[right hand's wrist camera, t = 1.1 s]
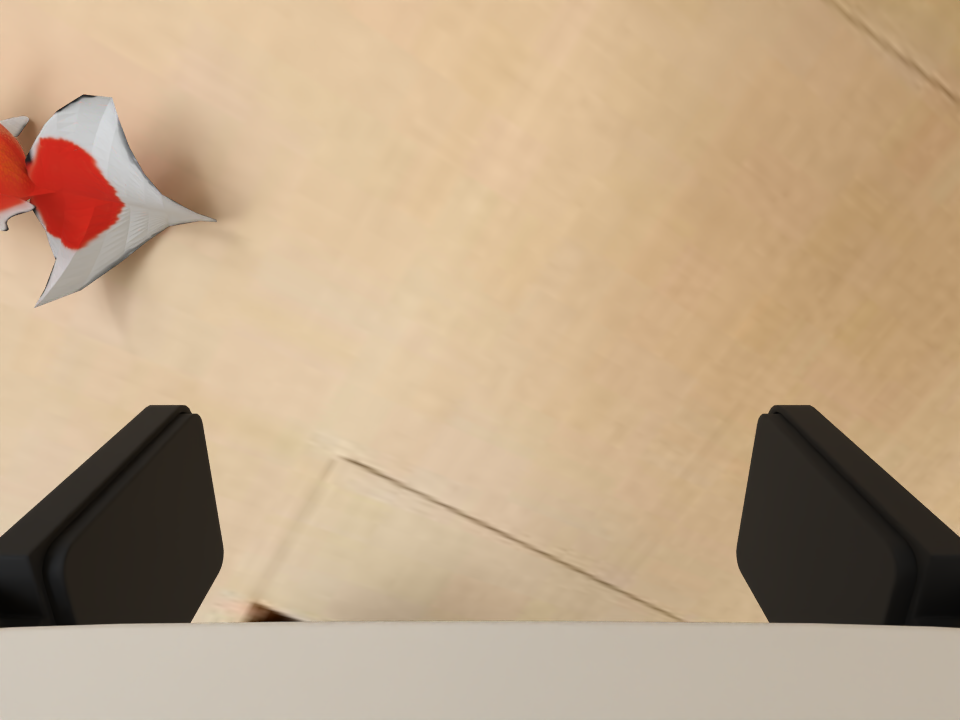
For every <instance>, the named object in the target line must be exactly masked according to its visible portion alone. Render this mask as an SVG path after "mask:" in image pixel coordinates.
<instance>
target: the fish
mask: <svg viewBox="0 0 960 720" xmlns="http://www.w3.org/2000/svg"><path fill="white" fill-rule="evenodd" d="M28 121H29V118H28V117H26V116H19V117H14V118H10V119H6V120H3V121H0V230H2V231H7V230H9V228H8V226H7V221H8V219H9V218H11V217H13V216H15V215H18V214H22V213H25V212H28V211H31V210H33V212H34V213H35V215H36V216H37V218H38V219H39V221H40V223H41V224H42V226H43V227H44V229H45V230H46V234H47V237H48V241H49V244H50V247H51V249H52V252H53V254H54V256H55V259H56V261H55V264H54V266H53V269H52V272H51V274H50V277H49V279H48V282H47V285H46V287H45V290H44V291H43V293H42V295H41V297H40V298H39V300H38V302H37V304H36V306H35V307H38V306H41V305H43V304H46V303H48V302H51V301H54V300H56V299H59V298H62V297H64V296H67V295H69V294H72V293H75V292H77V291H80V290H82V289H83V288H85V287H86V286H87V285H89V284H90V283H92V282H93V281H95V280H96V279H97V278H99V277H100V276H102V275H103V274H105V273H106V272H107V271H109V270H110V269H112V268H113V267H115V266H116V265H117V264H119V263H120V262H122V261H123V260H124V259H125V258H127V257H128V256H129V255H130V254H132V253H133V252H134V251H135V250H137V249H138V248H139V247H140V246H142V245H143V244H144V243H145V242H147V241H148V240H150V239H151V238H153V237H154V236H155V235H157V234H158V233H160V232H161V231H163V230H164V229H166V228H167V227H168V226H173V225H179V224H184V223H190V222H196V221H209V222H217V221H216V220H215V219H212V218H210V217H207V216H204V215H201V214H198V213H195V212H193V211H191V210H189V209H188V208H186V207H184V206H182V205H180V204H178V203H176V202H175V201H173V200H171V199H169V198H167V197H166V196H164V195H162V194H161V193H160V192H159V190H158V189H157V188H156V187H155V186H154V185H153V183H152V182H151V181H150V180H149V179H148V178H147V177H146V175H145V174H144V172H143V171H142V169H141V167H140V165H139V164H138V162H137V160H136V158H135V157H134V155H133V153H132V151H131V149H130V148H129V145H128V142H127V140H126V137H125V134H124V132H123V129H122V127H121V124H120V121H119V118H118V115H117V112H116V109H115V106H114V102H113V99H112V98H111V97H102V96H92V95H82V96H80V97H79V98H77V99H75V100H74V101H72V102H71V103H69V104H67V105H66V106H64V107H62V108H61V109H59V110H58V111H57V112H56V113H55V114H54V115H53V116H52V117H51V118H50V119H49V120H48V121H47V122H46V123H45V125H44V127H43V128H42V130H41V131H40V133H39V135H38V136H37V138H36V140H35V142H34V144H33V146H32V147H31V149H30V151H29V153H28V155H27V157H26V156H25V154H24V152H23V150H22V148H21V146H20V144H19V143H18V141H17V140H16V138H15V137H17V136H18V135H19V134H20V133H21V132H22V130H23V128H24V127H25V126H26V124H27V123H28ZM28 199H30V203H29V202H27V200H28ZM35 307H34V308H35Z"/></svg>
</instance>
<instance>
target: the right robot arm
mask: <svg viewBox="0 0 960 720" xmlns="http://www.w3.org/2000/svg"><path fill="white" fill-rule="evenodd" d="M223 554H224V550H223V542H222V536H221V530H220V524H219V518H218V512H217V506H216V500H215V494H214V488H213V482H212V476H211V470H210V465H209V459H208V453H207V447H206V441H205V435H204V429H203V423H202V419H201V417H200V416H199V415H198V414H192V413H191V411H190V409H189V408H188V407H187V406H185V405H150V406H148V407H146V408H145V409H144V410H143V411H142V412H140V413H139V414H138V415H137V416H136V417H135V418H134V419H133V420H131V421H130V422H129V423H128V424H127V425H126V426H125V427H124V428H122V429H121V430H120V431H119V432H118V433H117V434H116V435H115V436H113V437H112V438H111V439H110V440H109V441H108V442H107V443H106V444H105V445H103V446H102V447H101V448H100V449H99V450H98V451H97V452H96V453H94V454H93V455H92V456H91V457H90V458H89V459H88V460H87V461H85V462H84V463H83V464H82V465H81V466H80V467H79V468H78V469H76V470H75V471H74V472H73V473H72V474H71V475H70V476H69V477H67V478H66V479H65V480H64V481H63V482H62V483H61V484H60V485H58V486H57V487H56V488H55V489H54V490H53V491H52V492H51V493H49V494H48V495H47V496H46V497H45V498H44V499H43V500H42V501H40V502H39V503H38V504H37V505H36V506H35V507H34V508H33V509H31V510H30V511H29V512H28V513H27V514H26V515H25V516H24V517H22V518H21V519H20V520H19V521H18V522H17V523H16V524H15V525H13V526H12V527H11V528H10V529H9V530H8V531H7V532H6V533H5V534H3V535H2V536H1V537H0V720H960V537H959V536H958V535H957V534H955V533H954V532H953V531H952V530H951V529H950V528H949V527H948V526H947V525H945V524H944V523H943V522H942V521H941V520H940V519H939V518H938V517H936V516H935V515H934V514H933V513H932V512H931V511H930V510H929V509H927V508H926V507H925V506H924V505H923V504H922V503H921V502H920V501H918V500H917V499H916V498H915V497H914V496H913V495H912V494H911V493H909V492H908V491H907V490H906V489H905V488H904V487H903V486H902V485H900V484H899V483H898V482H897V481H896V480H895V479H894V478H893V477H891V476H890V475H889V474H888V473H887V472H886V471H885V470H884V469H882V468H881V467H880V466H879V465H878V464H877V463H876V462H875V461H873V460H872V459H871V458H870V457H869V456H868V455H867V454H866V453H864V452H863V451H862V450H861V449H860V448H859V447H858V446H857V445H855V444H854V443H853V442H852V441H851V440H850V439H849V438H848V437H847V436H845V435H844V434H843V433H842V432H841V431H840V430H839V429H838V428H836V427H835V426H834V425H833V424H832V423H831V422H830V421H829V420H827V419H826V418H825V417H824V416H823V415H822V414H821V413H820V412H818V411H817V410H816V409H815V408H814V407H812V406H810V405H775V406H773V407H772V408H771V409H770V411H769V413H768V414H762V415H761V416H760V417H759V419H758V423H757V429H756V435H755V441H754V447H753V453H752V459H751V465H750V470H749V476H748V482H747V488H746V494H745V500H744V506H743V512H742V518H741V524H740V530H739V536H738V542H737V550H736V554H737V563H738V566H739V569H740V571H741V573H742V575H743V577H744V579H745V580H746V582H747V584H748V586H749V587H750V589H751V591H752V593H753V594H754V596H755V598H756V600H757V602H758V603H759V605H760V607H761V609H762V610H763V612H764V614H765V616H766V617H767V619H768V621H769V623H719V622H606V621H330V622H240V623H191V621H192V619H193V617H194V616H195V614H196V612H197V610H198V609H199V607H200V605H201V603H202V602H203V600H204V598H205V596H206V594H207V593H208V591H209V589H210V587H211V586H212V584H213V582H214V580H215V579H216V577H217V575H218V573H219V571H220V569H221V566H222V563H223Z"/></svg>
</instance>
